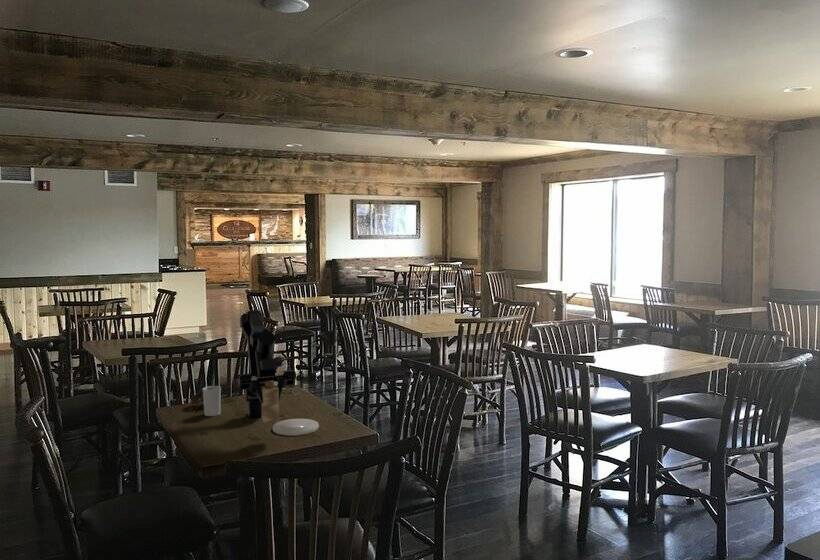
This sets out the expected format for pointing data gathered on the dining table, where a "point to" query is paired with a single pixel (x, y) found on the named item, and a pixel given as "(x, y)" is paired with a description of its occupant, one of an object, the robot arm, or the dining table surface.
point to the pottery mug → (195, 397)
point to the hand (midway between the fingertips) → (270, 401)
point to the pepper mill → (270, 402)
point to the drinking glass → (212, 400)
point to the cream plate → (295, 427)
